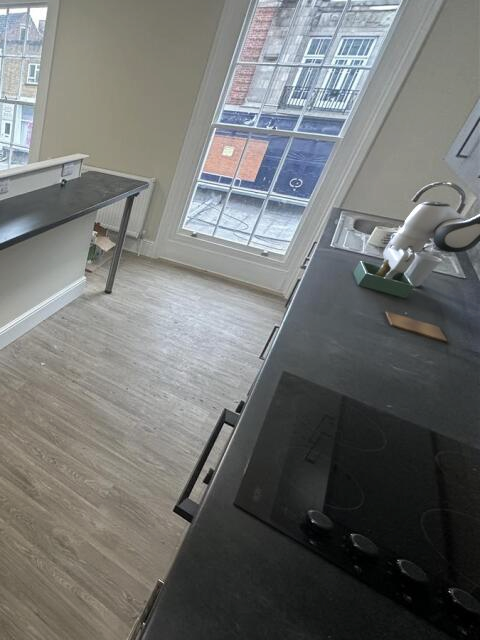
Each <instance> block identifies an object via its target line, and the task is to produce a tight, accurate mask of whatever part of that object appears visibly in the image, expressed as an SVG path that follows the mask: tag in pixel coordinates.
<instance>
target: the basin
mask: <svg viewBox="0 0 480 640" xmlns="http://www.w3.org/2000/svg"><path fill="white" fill-rule="evenodd" d="M381 266H382V265H379V264H375V263H371V262H368V261H363V260H359V263H358V264H357V265H356V267H355V268H354V270H353V272H352V273H353V275H354V278H355V281H356V284H357V286H360V287H362V288H363V287H364V288H367V289H369V290H374V291H378V292H382V293H386V294H389V295H392V296H396V297H400V298H403V299H406V298H407V297H408V296H409V294H411V292H412V290H414V288H415V287H416V286H414V284H413V283H412V281H411V280H410V278H409V276H408V275H407V273H406V272H405V273H397V274H396V275H394V276H393V278H392V279H388V278H384V277H380V276H377V275H375V274H376V273H377V272H378V271H379V270H380V269H381Z"/></svg>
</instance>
